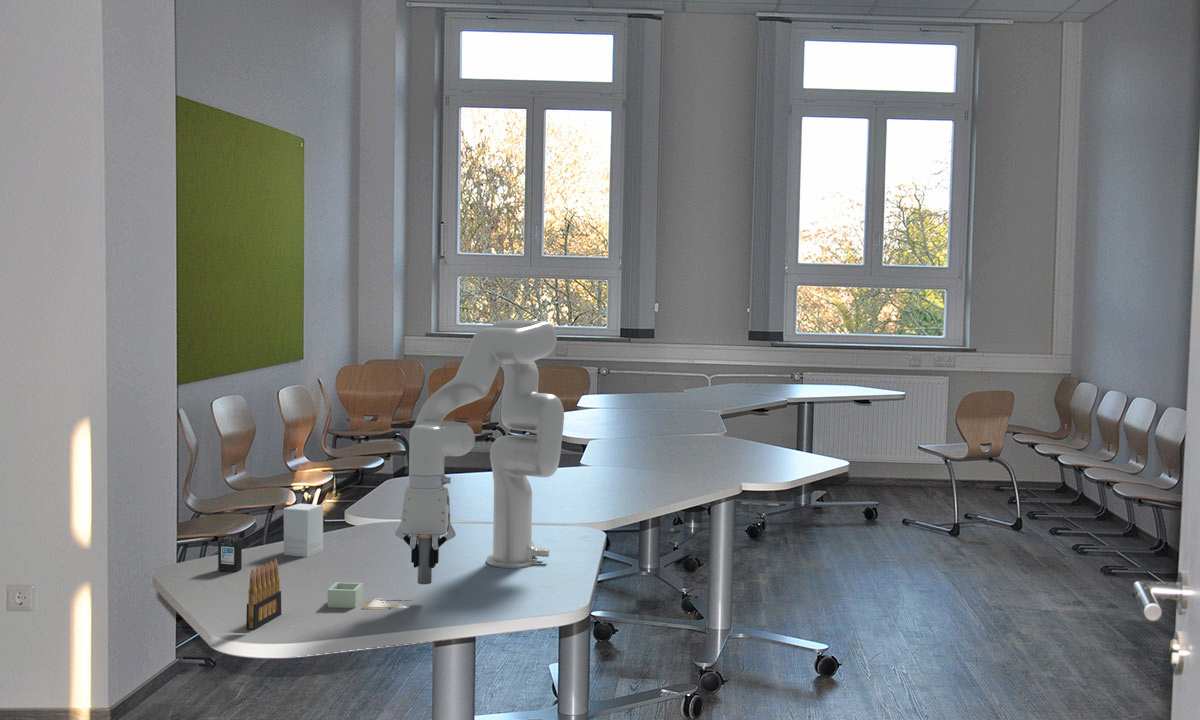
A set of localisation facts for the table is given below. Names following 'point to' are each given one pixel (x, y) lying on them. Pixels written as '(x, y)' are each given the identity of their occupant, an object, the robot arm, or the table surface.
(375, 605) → the writing board
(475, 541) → the table surface
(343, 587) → the green open box
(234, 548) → the ink cartridge
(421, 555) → the marker
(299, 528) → the supplement box
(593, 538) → the table surface
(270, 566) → the ammunition clip
